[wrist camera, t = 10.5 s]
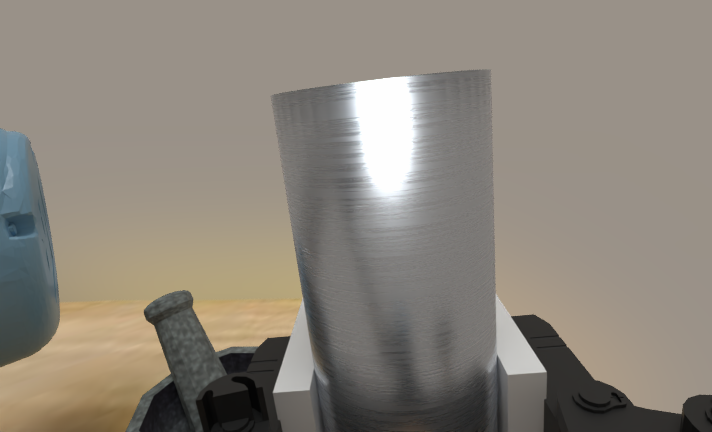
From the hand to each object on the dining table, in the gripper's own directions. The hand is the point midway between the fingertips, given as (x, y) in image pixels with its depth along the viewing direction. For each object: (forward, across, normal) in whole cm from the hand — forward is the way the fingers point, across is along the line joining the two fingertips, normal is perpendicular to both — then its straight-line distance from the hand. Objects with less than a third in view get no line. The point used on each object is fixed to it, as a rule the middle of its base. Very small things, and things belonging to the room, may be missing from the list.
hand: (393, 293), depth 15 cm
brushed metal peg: (-5, 0, -9) cm, 10 cm away
